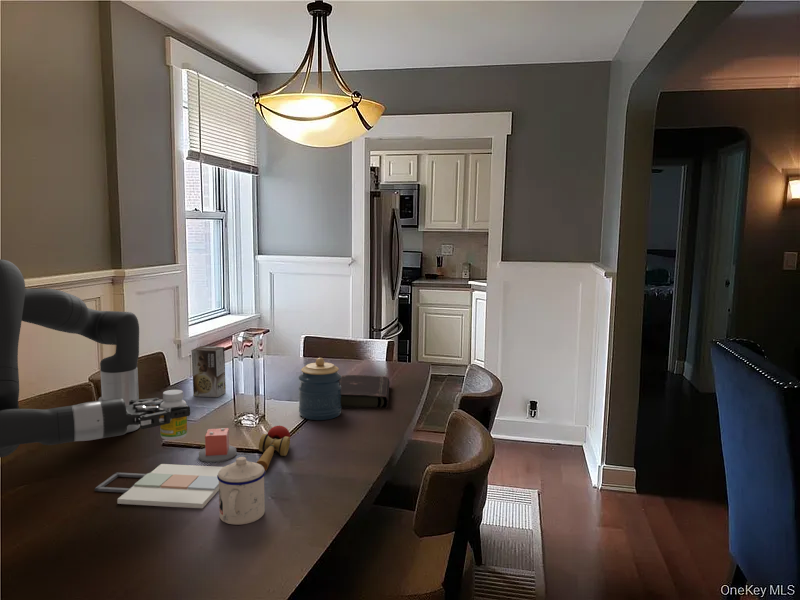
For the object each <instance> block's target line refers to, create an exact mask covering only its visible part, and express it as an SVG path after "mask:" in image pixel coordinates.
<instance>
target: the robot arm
mask: <svg viewBox="0 0 800 600" xmlns="http://www.w3.org/2000/svg"><path fill="white" fill-rule="evenodd" d="M22 322H24V323H29V324H32V325H36V326H40V327H43V328H47V329H50V330H54V331H58V332H61V333H67V334H76V335H80V336H83V337H84V338H87V339H89V340H91V341H93V342H95V343H98V344H102V345H109V346H110V345H111V346H115V353H114V354H113V355H110V356H107V357H104V358H102V359H101V360H100V363H99V370H100V386H101V387H100V388H101V396H100V397H99V398H98V400H94V401H87V402H83V403H78V404H73V405H67V406H59V407H51V408H45V409H43V408H42V409H39V408H20V406H19V399H20V398H19V397H20V377H19V376H20V375H19V361H18V359H19V358H18V356H19V355H18V354H19V343H20V334H21V329H22ZM139 356H140V323H139V319H138V317H137V316H136V314H135V313H134V312H131V311H120V310H119V311H117V310H99V309H98V310H97V309H94V308H88V307H87V304H86V303H85V302H84V300H83V299H81V298H80V297H78V296H76V295H75V294H71V293H68V292H65V291H63V290H59V289H54V288H26V282H25V278H24V275H23V273H22V272H21V270H20V269H19V267H18V266H17V265H16V264H14V262H11V261H10V260H7V259H1V258H0V458H4V457H8V456H10V455H11V454H12V453H14V452H15V451H16V450H17V449H18V448H19V446H20V445H25V444H26V445H27V444H34V443H35V444H36V443H37V444H38V443H39V444H41V445H44V446H53V445H61V444H67V443H73V442H85V441H93V440H99V439H100V440H101V439H105V438H111V437H117V436H123V435H125V434H127V433H131V432H134V431H136V430H138V429H139V428H140V430H145V429H146V430H147V429H151V428H154V427H155V428H156V427H160V425H164V424H169V423H170V420H172V419H174V418H180V417H186V416H187V417H189V416H191V415H190V414H191V408H190V406H189V405H186V406H179V407H172V408H160V404H161V403H162V402H163V401H164V400H163V398H161V399H160V398H159V397H153V398H152V397H151V398H142V399H139V397H140V396H139V395H140V394H139V373H138V372H139V371H138V361H139ZM163 415H164V417H160V416H163Z"/></svg>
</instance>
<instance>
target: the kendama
mask: <svg viewBox="0 0 800 600" xmlns="http://www.w3.org/2000/svg"><path fill="white" fill-rule="evenodd" d="M290 444H291V434H290V431H289V429H288V428H287V427H285V426H284V425H275V426H273V427H271V428H270V429H269V430H268V432H267V433H262V435H261V436H260V438H259V442H258V451H260V452H262V453H263V454H261V456H260V457H259V459H258V460H257V462H256V463H258V464H260V465H262V466H263V467H264V470H265V472H266V471H268V469H269V466H270V463H271V461H272V459H273V456H274V454H275V453H274V452H275V451H276V452H278V454H279V455H280V456H281V457H286V456H287V455H288V452H289V449H290V446H291V445H290Z"/></svg>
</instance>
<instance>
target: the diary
mask: <svg viewBox="0 0 800 600" xmlns="http://www.w3.org/2000/svg"><path fill="white" fill-rule="evenodd" d="M390 383H391V382H390V379H389V376H387V375H386V376H383V375H382V376H379V375H366V374H365V375H363V374H362V375H360V374H342V375H341V379H340V385H341V409H343V408H344V409H357V408H378V406H379V408H382V407H383V406H384V405H385V409H387V408H388V406H389V398H390V397H389V395H390Z"/></svg>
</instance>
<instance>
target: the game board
mask: <svg viewBox="0 0 800 600" xmlns="http://www.w3.org/2000/svg"><path fill="white" fill-rule="evenodd" d="M223 467H224V466H214V465H213V466H212V465H211V466H210V465H208V466H207V465H192V464H191V465H189V464H171V463H170V464H169V463H161V464H159V465H158V466H157V467H155V469H153V470H152V471H150V472H147V473H135V472H134V473H133V472H118V471H117V472H115V473H114V474H112V475H111V476H110V477H108V478H107V479H106V480H104V481H103V482H101V483H99V484H98V485H97V486H95V488H94V491H95V492H105V493H106V492H109V493H122V494H121V496H119V497H118V498H117V499H116V500H117V504H119V505H120V504H121V505H132V506H133V505H134V506H135V505H136V506H150V507H151V506H155V507H169V508H170V507H171V508H189V509H203V508H205V506H206V505H207V504H208V503H209V502H210V501H211V499H212V498H213V497H214V496H216V494H217V493H219V480H218V478H217V475H218V472H219V471H220V470H221V469H222V468H223ZM119 477H121V478H137V479H138V478H139V479H138V481H136V482H135V483H134V484H132V486H131V487H130V488H127V487H113V486H112V487H109V486H107V485H108V484H110V483H112V481H115V480H116V479H117V478H119Z"/></svg>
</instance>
